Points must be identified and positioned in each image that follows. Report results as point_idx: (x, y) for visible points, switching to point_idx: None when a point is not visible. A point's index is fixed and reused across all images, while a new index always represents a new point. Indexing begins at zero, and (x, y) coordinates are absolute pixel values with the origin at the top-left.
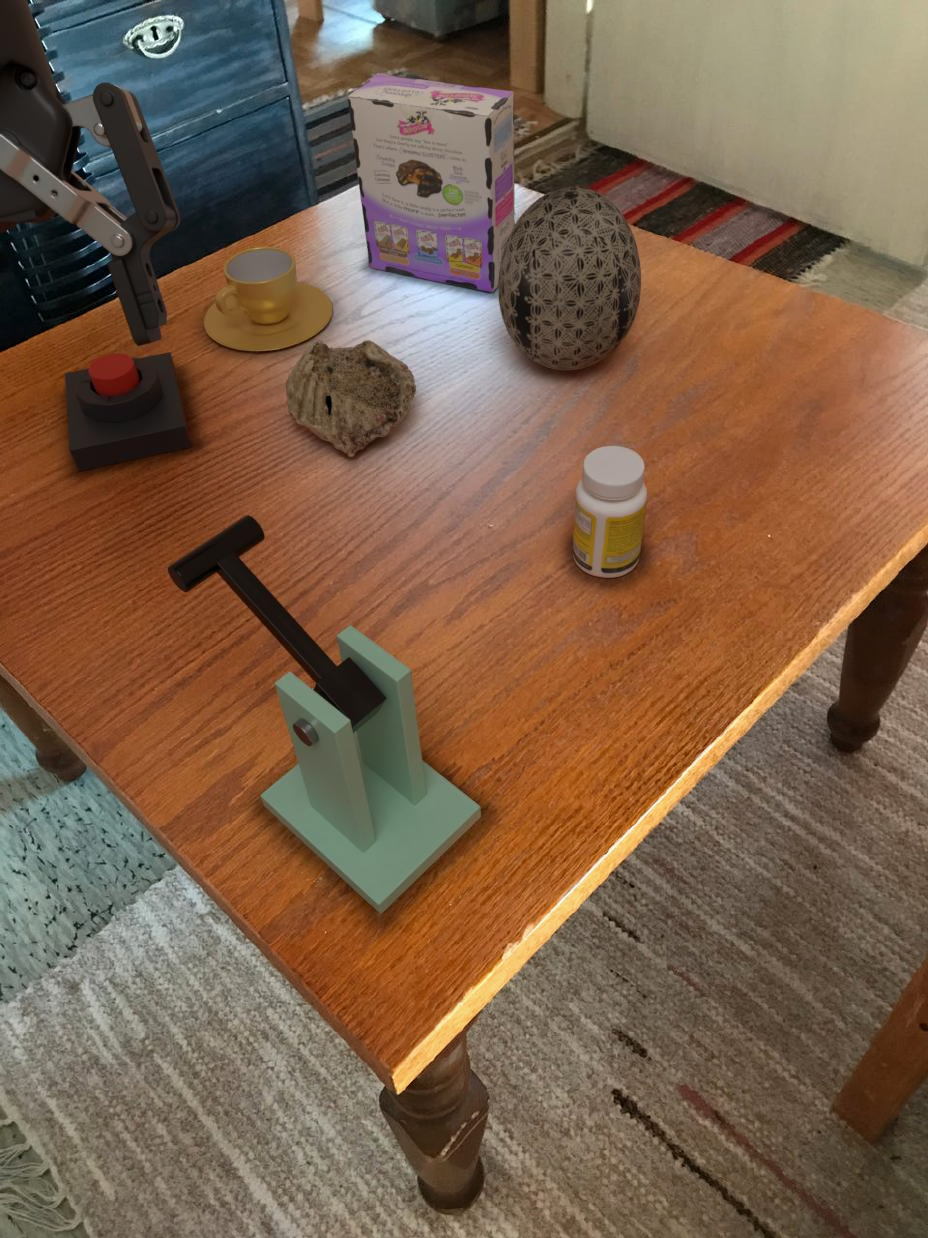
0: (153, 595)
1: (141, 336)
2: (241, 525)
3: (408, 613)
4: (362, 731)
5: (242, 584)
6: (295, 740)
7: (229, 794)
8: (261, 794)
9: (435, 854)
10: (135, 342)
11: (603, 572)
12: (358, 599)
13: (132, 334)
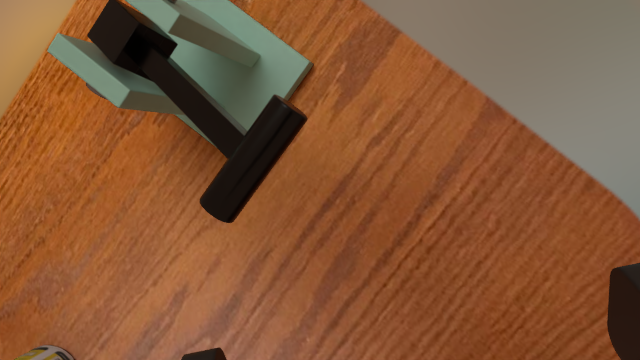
0: (503, 319)
1: (195, 356)
2: (218, 195)
3: (223, 298)
4: None
5: (216, 118)
6: (212, 28)
7: (348, 73)
8: (308, 62)
9: None
10: (217, 348)
11: (47, 347)
12: (275, 316)
13: (210, 357)
